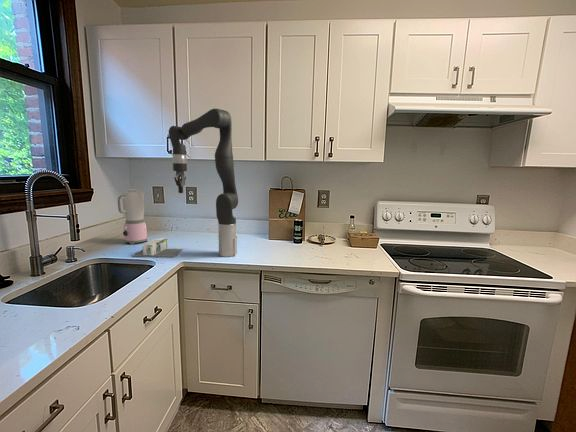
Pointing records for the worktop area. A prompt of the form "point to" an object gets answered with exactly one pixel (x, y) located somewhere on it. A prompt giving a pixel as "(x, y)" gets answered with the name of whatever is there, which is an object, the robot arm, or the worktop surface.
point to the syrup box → (155, 246)
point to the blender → (133, 216)
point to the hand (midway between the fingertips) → (180, 192)
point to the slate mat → (160, 253)
